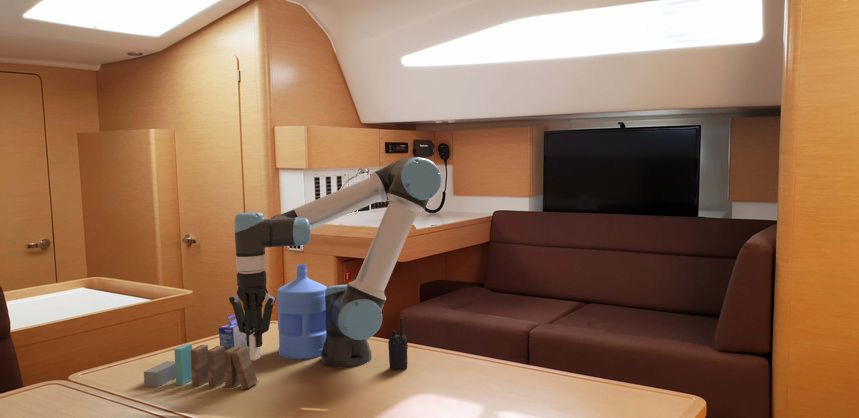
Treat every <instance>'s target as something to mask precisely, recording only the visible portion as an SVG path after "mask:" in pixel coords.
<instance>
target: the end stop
mask: <svg viewBox="0 0 859 418" xmlns="http://www.w3.org/2000/svg"><path fill="white" fill-rule="evenodd" d="M175 379H176V374H175V360H174V361H172V360H166V361H164V362H162V363H159V364H157V365H155V366H153V367H151V368H148V369H147V370H144V371H143V382H144V383H143V384H144V386H143V387H147V388H148V387H150V388H158V387H160V386H162V385H164V384H166V383H169V382H171V381H172V380H175Z"/></svg>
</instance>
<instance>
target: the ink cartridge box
mask: <svg viewBox="0 0 859 418" xmlns="http://www.w3.org/2000/svg"><path fill="white" fill-rule="evenodd" d="M232 318H234V319H232ZM231 319H232V320H231ZM227 320H228V323H226V324H224V325H222V326H219V327H218V335H219V338H218V339H219V346H224V351H226V350H228V349H230V348H232V347H240V349H241V348H244V347H247V350H248V353H249V356H250V347H248V346H247V338H246V334H245V333H243V332H242V333H241V332H240V331H239V328H238V324H237V321H236V317H235V313H233V314H231V315H229V316H227Z"/></svg>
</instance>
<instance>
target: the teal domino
mask: <svg viewBox="0 0 859 418" xmlns="http://www.w3.org/2000/svg"><path fill="white" fill-rule="evenodd" d="M191 349H193V344H189V343H185V344H183V345H181V346H178V347H176V348H174V361H175V374H176V378H175V385H176V386H181V387H182V386H184V385H187V384H189V382H192V368H191Z"/></svg>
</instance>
